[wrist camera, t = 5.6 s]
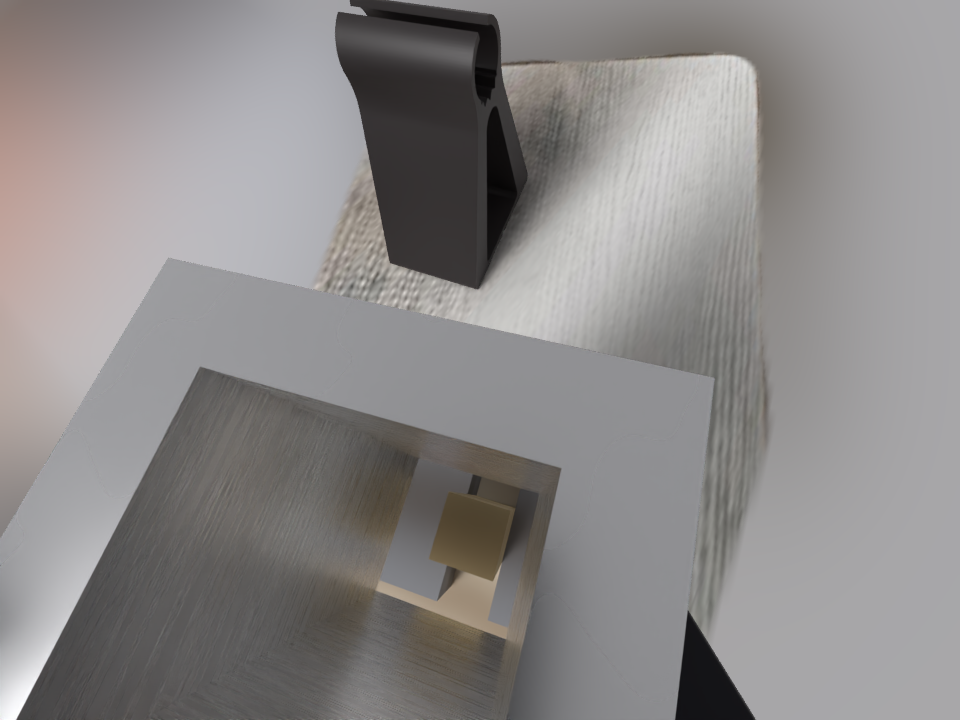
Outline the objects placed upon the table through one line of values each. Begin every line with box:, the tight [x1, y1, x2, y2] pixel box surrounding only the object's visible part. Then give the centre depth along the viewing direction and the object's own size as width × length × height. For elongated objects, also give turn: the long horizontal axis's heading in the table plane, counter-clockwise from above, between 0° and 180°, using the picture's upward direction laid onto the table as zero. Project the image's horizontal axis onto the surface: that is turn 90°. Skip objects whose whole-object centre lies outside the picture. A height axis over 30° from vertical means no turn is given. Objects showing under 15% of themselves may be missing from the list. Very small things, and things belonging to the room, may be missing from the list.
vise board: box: [376, 458, 539, 639], centre depth 15 cm, size 16×12×8 cm
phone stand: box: [335, 0, 527, 289], centre depth 21 cm, size 9×6×12 cm, turn 158°
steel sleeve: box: [0, 258, 715, 720], centre depth 7 cm, size 5×5×8 cm
